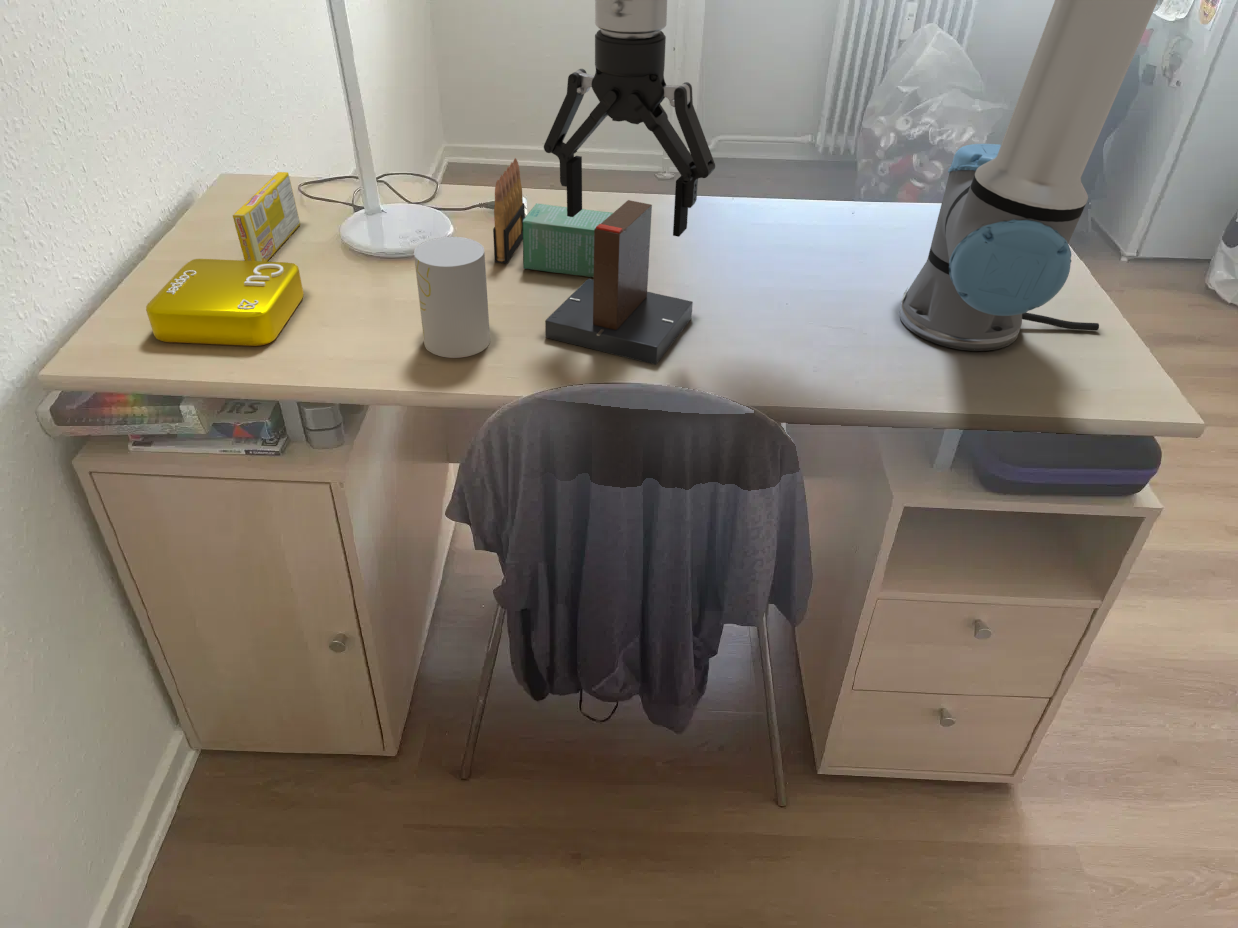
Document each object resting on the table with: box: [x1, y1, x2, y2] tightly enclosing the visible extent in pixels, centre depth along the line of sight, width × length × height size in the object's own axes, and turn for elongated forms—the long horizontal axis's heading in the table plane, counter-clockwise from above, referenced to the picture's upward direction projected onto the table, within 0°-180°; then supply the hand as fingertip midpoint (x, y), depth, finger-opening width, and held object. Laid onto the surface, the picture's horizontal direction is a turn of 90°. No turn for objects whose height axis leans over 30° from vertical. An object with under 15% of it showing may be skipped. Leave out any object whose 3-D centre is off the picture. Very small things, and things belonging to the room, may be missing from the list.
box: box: [522, 202, 614, 278], centre depth 131 cm, size 7×14×8 cm, turn 79°
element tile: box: [145, 258, 305, 347], centre depth 117 cm, size 15×15×5 cm
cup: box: [413, 236, 491, 359], centre depth 111 cm, size 8×8×12 cm
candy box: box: [232, 171, 301, 262], centre depth 132 cm, size 16×2×8 cm, turn 175°
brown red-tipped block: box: [593, 199, 653, 330], centre depth 113 cm, size 10×3×13 cm, turn 156°
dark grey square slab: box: [544, 278, 694, 366], centre depth 118 cm, size 15×14×3 cm
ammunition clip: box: [492, 157, 526, 264], centre depth 133 cm, size 11×2×12 cm, turn 170°
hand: (626, 222), depth 110 cm, fingers open, 13 cm apart
